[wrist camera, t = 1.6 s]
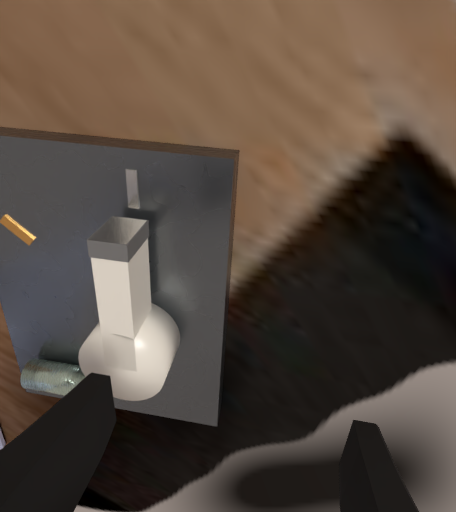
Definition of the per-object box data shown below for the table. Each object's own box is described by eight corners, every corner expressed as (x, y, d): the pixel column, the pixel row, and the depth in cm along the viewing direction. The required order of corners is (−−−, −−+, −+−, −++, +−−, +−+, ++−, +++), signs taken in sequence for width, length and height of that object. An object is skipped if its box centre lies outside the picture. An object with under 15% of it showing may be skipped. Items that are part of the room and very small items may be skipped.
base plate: (221, 407, 26) (211, 452, 23) (39, 375, 27) (8, 414, 24) (239, 150, 17) (227, 171, 15) (-25, 124, 19) (-83, 139, 16)
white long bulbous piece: (180, 367, 22) (165, 408, 20) (107, 355, 23) (83, 393, 20) (179, 220, 18) (159, 249, 15) (88, 209, 18) (55, 235, 16)
